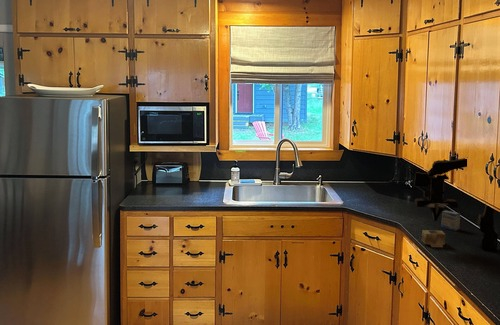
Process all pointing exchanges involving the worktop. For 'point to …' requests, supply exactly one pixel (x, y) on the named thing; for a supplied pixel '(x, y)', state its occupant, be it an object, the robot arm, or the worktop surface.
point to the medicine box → (450, 220)
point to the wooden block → (433, 237)
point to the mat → (436, 245)
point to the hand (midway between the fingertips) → (435, 221)
